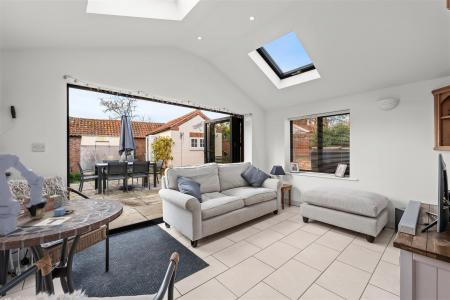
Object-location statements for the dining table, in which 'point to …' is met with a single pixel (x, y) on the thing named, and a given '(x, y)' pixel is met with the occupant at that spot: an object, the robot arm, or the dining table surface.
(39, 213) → the oak block
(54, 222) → the letter card
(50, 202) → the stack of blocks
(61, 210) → the blue cube
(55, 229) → the dining table surface
